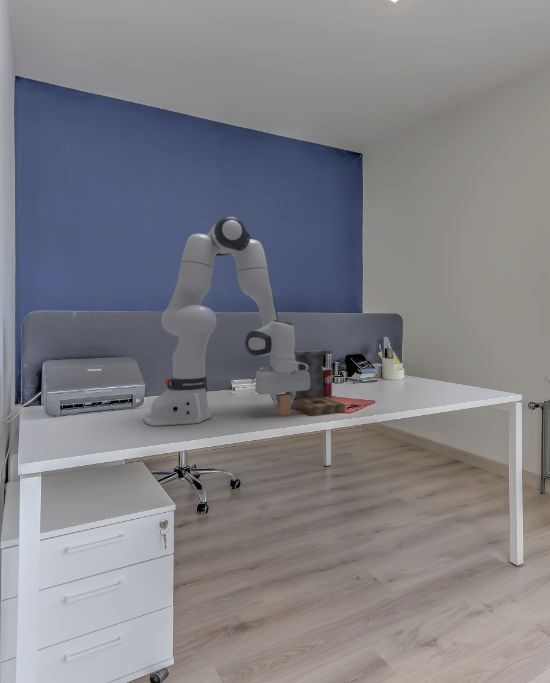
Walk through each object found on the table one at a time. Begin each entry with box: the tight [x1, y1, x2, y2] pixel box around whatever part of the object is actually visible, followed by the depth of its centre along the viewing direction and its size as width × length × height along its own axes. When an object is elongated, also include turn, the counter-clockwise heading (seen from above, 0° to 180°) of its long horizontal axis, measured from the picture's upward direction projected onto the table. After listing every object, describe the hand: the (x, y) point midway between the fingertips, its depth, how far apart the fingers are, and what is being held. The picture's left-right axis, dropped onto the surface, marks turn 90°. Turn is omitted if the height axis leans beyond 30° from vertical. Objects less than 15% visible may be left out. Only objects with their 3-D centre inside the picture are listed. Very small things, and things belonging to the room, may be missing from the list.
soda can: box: [323, 367, 333, 398], centre depth 196 cm, size 7×7×12 cm
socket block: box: [285, 349, 346, 417], centre depth 171 cm, size 20×18×21 cm
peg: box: [275, 393, 292, 417], centre depth 164 cm, size 4×4×7 cm
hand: (283, 404), depth 164 cm, fingers closed on peg, 4 cm apart
